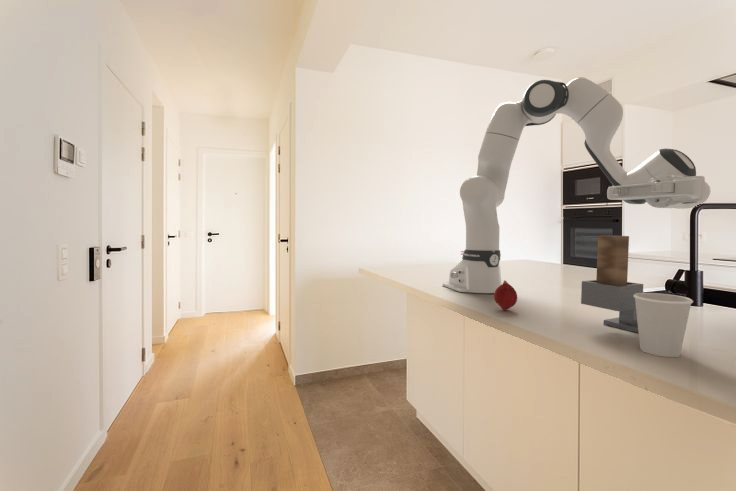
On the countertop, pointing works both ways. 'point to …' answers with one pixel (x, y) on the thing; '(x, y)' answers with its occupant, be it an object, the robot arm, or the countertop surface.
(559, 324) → the countertop surface
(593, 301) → the box
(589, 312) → the countertop surface
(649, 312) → the dixie cup
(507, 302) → the onion
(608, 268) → the rail post
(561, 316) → the countertop surface
